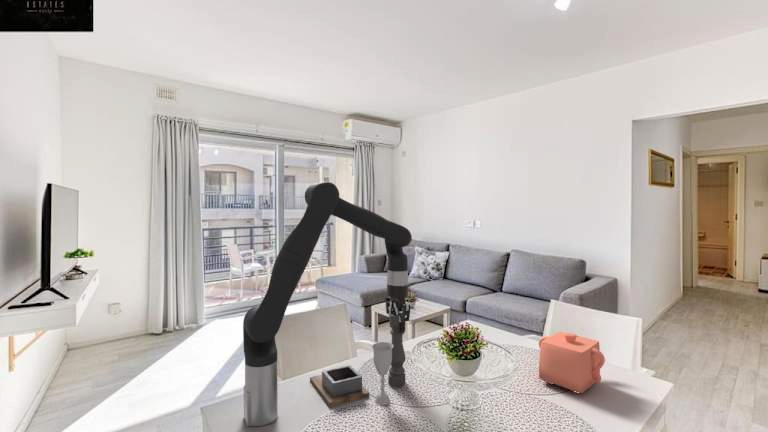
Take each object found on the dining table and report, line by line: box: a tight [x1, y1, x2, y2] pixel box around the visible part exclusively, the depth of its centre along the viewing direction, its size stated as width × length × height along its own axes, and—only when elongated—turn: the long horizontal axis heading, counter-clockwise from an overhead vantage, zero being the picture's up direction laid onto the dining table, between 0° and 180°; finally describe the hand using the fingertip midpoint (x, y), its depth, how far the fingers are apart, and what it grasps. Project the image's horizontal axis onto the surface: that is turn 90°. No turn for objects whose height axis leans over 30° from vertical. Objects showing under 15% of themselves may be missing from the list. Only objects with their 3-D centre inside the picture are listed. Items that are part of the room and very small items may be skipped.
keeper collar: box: [321, 364, 363, 399], centre depth 128 cm, size 10×10×5 cm
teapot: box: [538, 331, 606, 394], centre depth 139 cm, size 25×23×18 cm
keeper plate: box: [309, 374, 370, 408], centre depth 131 cm, size 14×20×2 cm
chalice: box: [371, 341, 393, 406], centre depth 123 cm, size 7×7×18 cm
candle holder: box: [387, 312, 406, 389], centre depth 135 cm, size 6×6×25 cm
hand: (397, 329), depth 135 cm, fingers closed on candle holder, 5 cm apart
